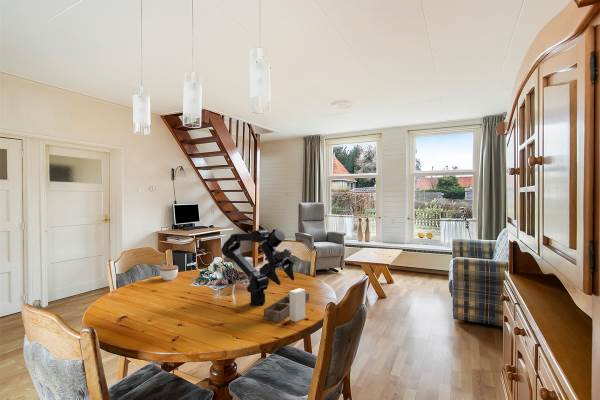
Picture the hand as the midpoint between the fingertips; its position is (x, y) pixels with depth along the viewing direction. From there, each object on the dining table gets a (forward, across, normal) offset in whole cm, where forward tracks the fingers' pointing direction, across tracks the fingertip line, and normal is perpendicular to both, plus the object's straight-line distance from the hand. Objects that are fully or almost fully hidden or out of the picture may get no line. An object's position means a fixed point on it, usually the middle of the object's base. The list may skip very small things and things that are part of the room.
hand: (286, 282), depth 134 cm
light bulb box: (-32, +32, +60) cm, 75 cm away
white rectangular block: (+15, -2, +3) cm, 16 cm away
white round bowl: (-49, -5, +81) cm, 95 cm away
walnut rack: (+9, +4, +10) cm, 14 cm away
